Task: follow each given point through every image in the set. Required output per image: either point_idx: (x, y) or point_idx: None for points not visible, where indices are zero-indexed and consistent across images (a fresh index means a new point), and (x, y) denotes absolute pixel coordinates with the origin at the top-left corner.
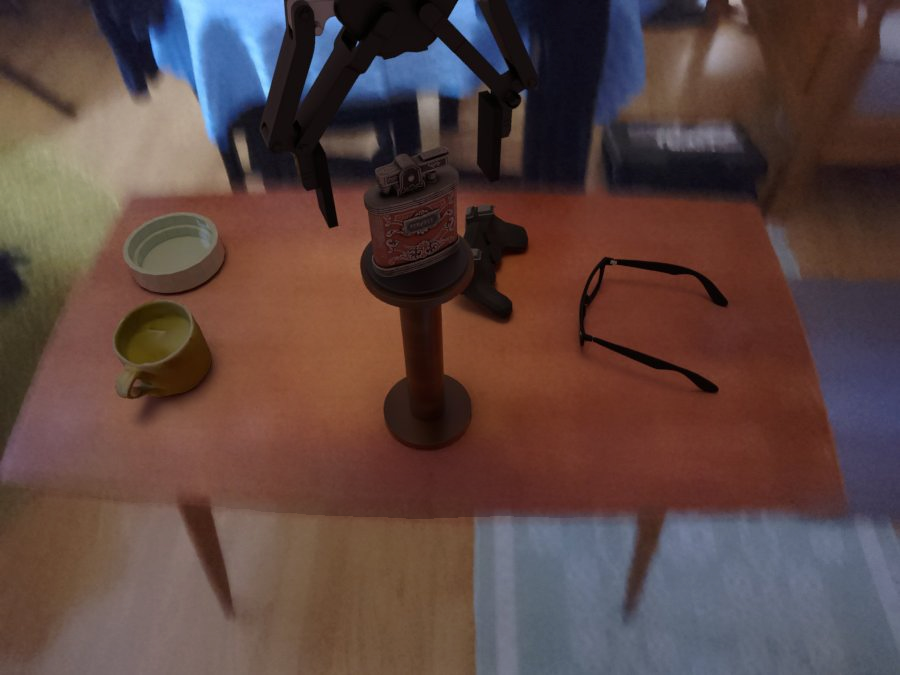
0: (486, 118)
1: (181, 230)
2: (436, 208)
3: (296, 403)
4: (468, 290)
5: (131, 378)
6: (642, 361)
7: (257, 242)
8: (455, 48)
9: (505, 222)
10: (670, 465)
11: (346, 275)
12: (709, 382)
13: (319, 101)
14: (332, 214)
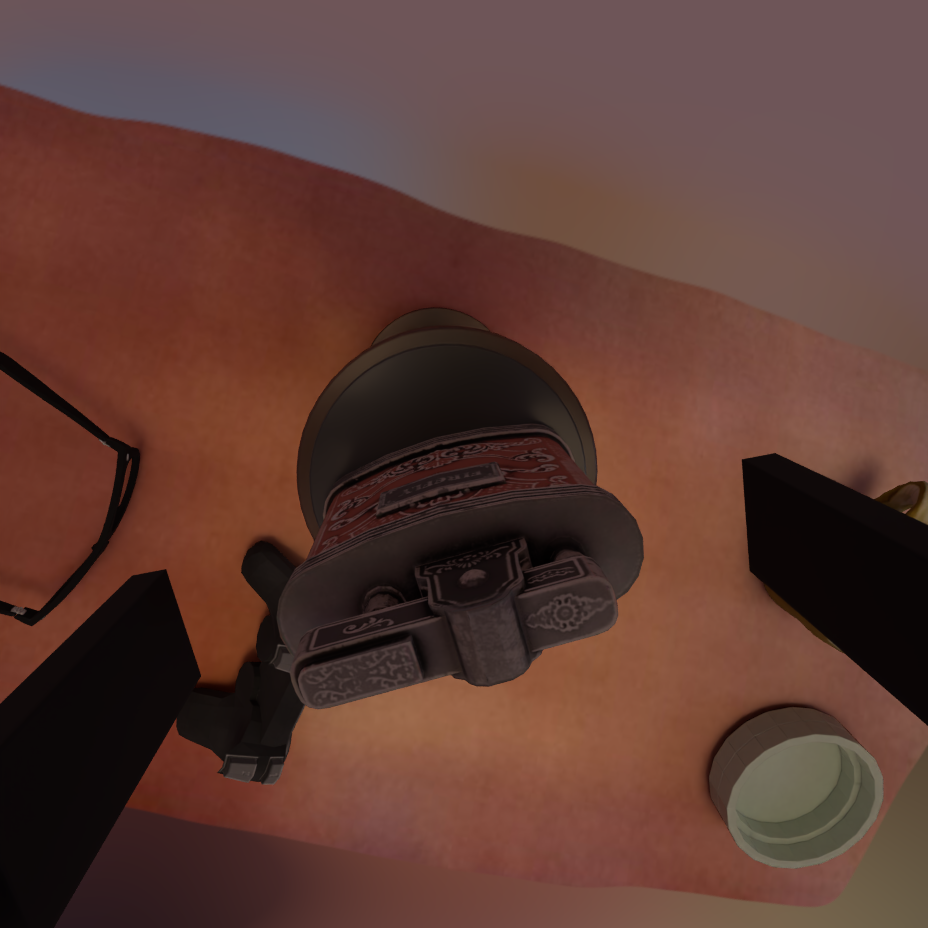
0: (57, 785)
1: (775, 832)
2: (384, 517)
3: (640, 449)
4: None
5: (922, 507)
6: (25, 371)
7: (651, 790)
8: None
9: (210, 747)
10: (44, 175)
11: (517, 692)
12: None
13: None
14: (784, 472)
